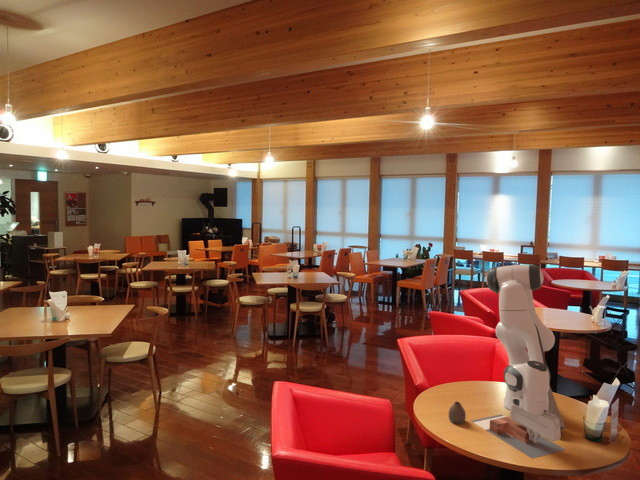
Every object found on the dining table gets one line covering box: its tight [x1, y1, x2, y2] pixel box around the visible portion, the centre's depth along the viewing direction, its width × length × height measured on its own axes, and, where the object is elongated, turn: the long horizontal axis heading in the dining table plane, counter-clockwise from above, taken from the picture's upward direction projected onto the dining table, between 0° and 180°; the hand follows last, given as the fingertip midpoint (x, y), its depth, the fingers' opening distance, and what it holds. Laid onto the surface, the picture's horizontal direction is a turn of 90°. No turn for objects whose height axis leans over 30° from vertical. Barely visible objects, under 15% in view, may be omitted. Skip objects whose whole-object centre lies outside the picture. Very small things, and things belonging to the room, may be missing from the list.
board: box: [471, 414, 566, 459], centre depth 181 cm, size 17×32×1 cm, turn 23°
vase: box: [448, 401, 467, 425], centre depth 191 cm, size 7×7×9 cm
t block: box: [490, 416, 531, 443], centre depth 180 cm, size 14×13×4 cm
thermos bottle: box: [548, 384, 566, 432], centre depth 191 cm, size 8×8×28 cm
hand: (533, 441), depth 173 cm, fingers closed
